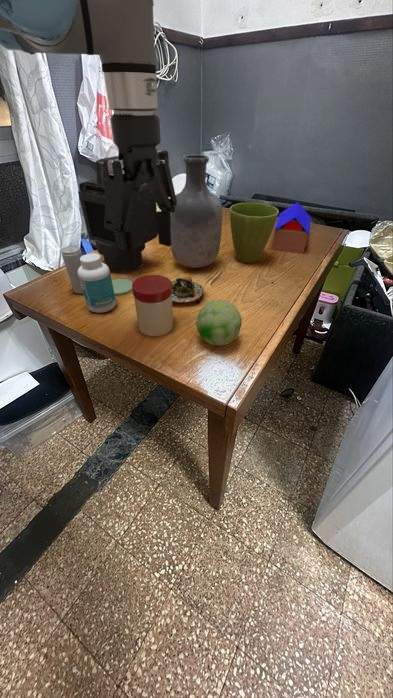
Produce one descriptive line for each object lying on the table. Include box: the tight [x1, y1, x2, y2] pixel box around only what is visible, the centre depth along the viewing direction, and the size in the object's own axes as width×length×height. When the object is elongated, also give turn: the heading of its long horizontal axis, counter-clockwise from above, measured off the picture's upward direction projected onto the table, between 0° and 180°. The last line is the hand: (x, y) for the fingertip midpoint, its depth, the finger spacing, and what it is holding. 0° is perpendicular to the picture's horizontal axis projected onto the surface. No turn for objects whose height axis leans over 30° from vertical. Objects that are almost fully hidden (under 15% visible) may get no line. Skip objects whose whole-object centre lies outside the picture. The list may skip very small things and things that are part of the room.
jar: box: [133, 294, 174, 337], centre depth 66 cm, size 8×8×11 cm
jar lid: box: [131, 274, 172, 303], centre depth 63 cm, size 9×9×2 cm
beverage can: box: [60, 245, 84, 295], centre depth 78 cm, size 5×5×12 cm
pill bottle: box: [78, 253, 117, 314], centre depth 71 cm, size 8×7×14 cm
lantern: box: [77, 155, 158, 273], centre depth 84 cm, size 15×18×30 cm
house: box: [271, 201, 311, 254], centre depth 107 cm, size 12×20×12 cm, turn 163°
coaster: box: [111, 278, 134, 296], centre depth 83 cm, size 8×8×1 cm
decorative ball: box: [195, 299, 243, 346], centre depth 62 cm, size 10×10×10 cm
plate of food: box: [171, 270, 205, 304], centre depth 77 cm, size 12×12×8 cm
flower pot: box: [229, 202, 280, 264], centre depth 93 cm, size 15×15×16 cm
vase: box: [170, 153, 223, 269], centre depth 85 cm, size 16×16×30 cm
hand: (148, 254), depth 58 cm, fingers open, 11 cm apart
